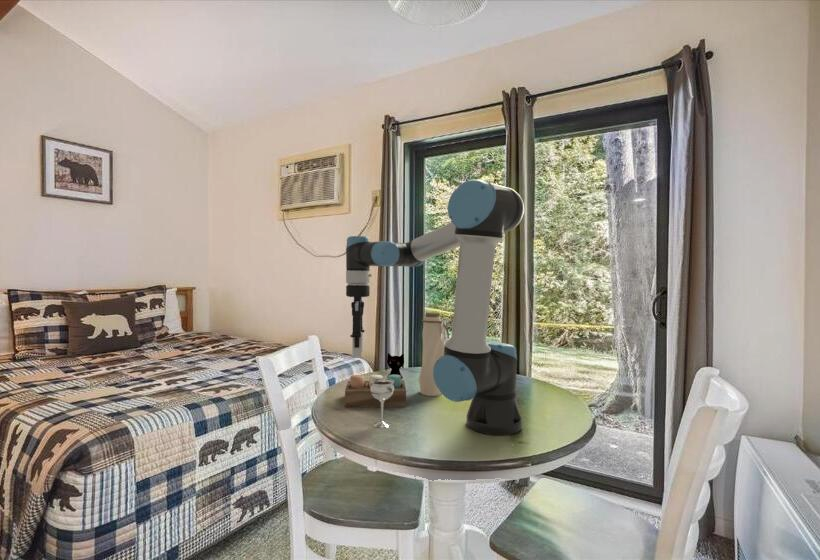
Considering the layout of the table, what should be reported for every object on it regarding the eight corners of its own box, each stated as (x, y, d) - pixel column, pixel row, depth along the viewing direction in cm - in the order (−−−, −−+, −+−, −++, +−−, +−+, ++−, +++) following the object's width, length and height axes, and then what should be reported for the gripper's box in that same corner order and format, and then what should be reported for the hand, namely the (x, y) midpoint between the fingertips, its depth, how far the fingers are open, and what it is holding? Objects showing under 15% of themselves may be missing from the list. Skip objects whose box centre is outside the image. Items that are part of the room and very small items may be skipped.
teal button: (401, 393, 137) (401, 377, 137) (387, 394, 137) (387, 378, 137) (400, 390, 142) (400, 374, 141) (387, 390, 141) (387, 374, 141)
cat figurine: (383, 387, 155) (384, 354, 154) (388, 382, 161) (388, 350, 161) (403, 388, 153) (403, 355, 153) (406, 383, 160) (406, 351, 160)
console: (405, 406, 134) (406, 390, 133) (344, 407, 132) (344, 391, 132) (403, 394, 146) (404, 380, 145) (347, 395, 144) (348, 380, 144)
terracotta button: (363, 394, 136) (363, 378, 136) (350, 394, 136) (350, 378, 136) (364, 390, 141) (364, 374, 141) (351, 390, 140) (351, 374, 140)
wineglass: (377, 430, 113) (377, 386, 113) (365, 422, 119) (365, 380, 119) (398, 425, 117) (399, 382, 117) (386, 418, 123) (386, 377, 122)
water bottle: (448, 389, 152) (449, 311, 151) (448, 397, 143) (449, 314, 142) (420, 388, 153) (420, 311, 152) (418, 396, 144) (418, 313, 143)
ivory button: (382, 394, 137) (382, 378, 137) (368, 394, 136) (369, 378, 136) (382, 390, 141) (382, 374, 141) (369, 390, 141) (369, 374, 141)
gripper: (368, 285, 128) (368, 361, 128) (370, 283, 148) (370, 348, 148) (343, 285, 127) (343, 361, 128) (348, 283, 147) (348, 349, 148)
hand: (357, 354), depth 138 cm, fingers open, 7 cm apart
